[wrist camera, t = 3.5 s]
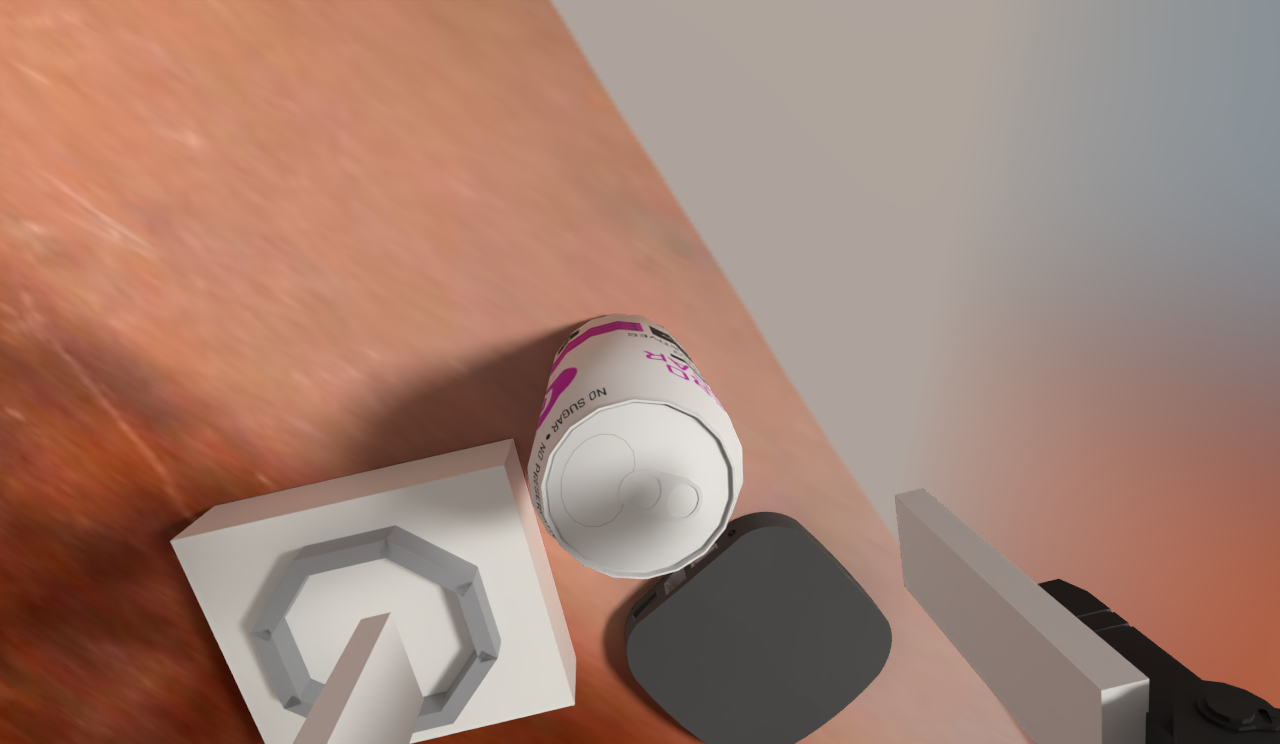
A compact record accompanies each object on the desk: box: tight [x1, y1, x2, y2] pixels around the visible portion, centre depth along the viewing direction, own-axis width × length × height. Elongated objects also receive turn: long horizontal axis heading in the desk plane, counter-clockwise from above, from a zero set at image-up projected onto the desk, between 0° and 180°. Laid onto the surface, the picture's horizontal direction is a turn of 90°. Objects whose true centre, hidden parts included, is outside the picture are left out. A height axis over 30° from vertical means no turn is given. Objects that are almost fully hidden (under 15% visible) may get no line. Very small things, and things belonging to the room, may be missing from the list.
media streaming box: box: [625, 512, 892, 744], centre depth 40 cm, size 15×15×3 cm
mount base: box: [170, 438, 576, 744], centre depth 36 cm, size 18×16×6 cm
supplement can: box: [527, 314, 743, 579], centre depth 29 cm, size 8×8×15 cm
